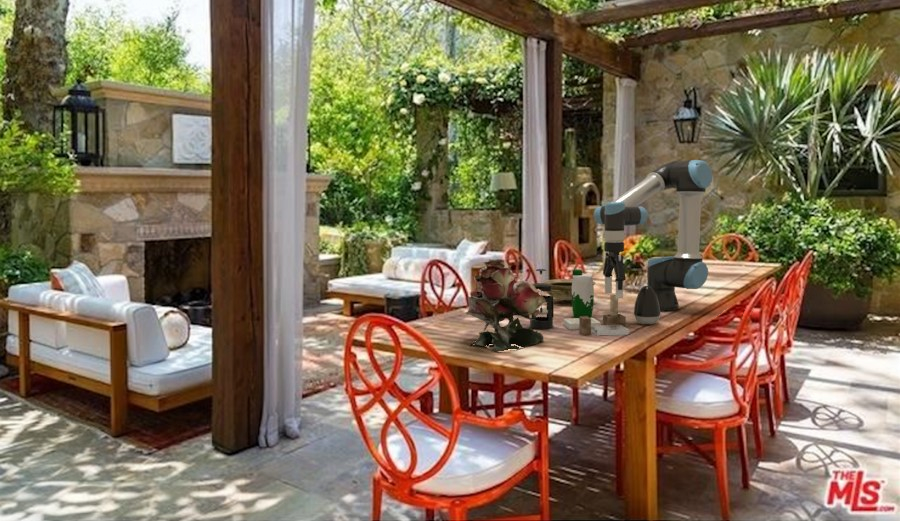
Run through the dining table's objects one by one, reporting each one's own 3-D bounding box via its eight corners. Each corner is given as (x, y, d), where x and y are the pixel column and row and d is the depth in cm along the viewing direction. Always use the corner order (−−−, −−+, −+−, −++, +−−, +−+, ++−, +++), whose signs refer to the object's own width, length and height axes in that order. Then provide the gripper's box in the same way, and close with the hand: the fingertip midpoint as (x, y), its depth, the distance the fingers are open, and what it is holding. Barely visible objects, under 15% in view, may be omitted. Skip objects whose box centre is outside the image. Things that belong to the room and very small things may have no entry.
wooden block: (587, 331, 260) (587, 316, 259) (590, 334, 255) (590, 318, 254) (579, 332, 260) (579, 316, 259) (583, 334, 255) (583, 319, 254)
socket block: (619, 323, 274) (619, 313, 274) (625, 327, 267) (625, 316, 267) (602, 324, 274) (602, 314, 273) (608, 327, 267) (608, 317, 266)
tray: (592, 323, 275) (593, 317, 275) (600, 328, 265) (600, 322, 265) (563, 325, 274) (563, 318, 274) (569, 330, 264) (569, 323, 264)
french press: (541, 330, 264) (541, 271, 261) (523, 327, 271) (522, 269, 268) (561, 326, 271) (560, 268, 269) (543, 323, 279) (542, 266, 276)
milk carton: (572, 315, 295) (571, 268, 293) (593, 315, 293) (593, 268, 291) (571, 318, 286) (571, 271, 284) (593, 319, 284) (593, 271, 282)
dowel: (616, 324, 272) (616, 294, 271) (619, 326, 269) (619, 296, 268) (609, 325, 272) (609, 295, 271) (611, 326, 269) (611, 296, 268)
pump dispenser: (660, 321, 277) (661, 284, 275) (659, 326, 267) (660, 287, 265) (634, 320, 280) (634, 283, 278) (632, 325, 270) (632, 287, 269)
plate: (620, 331, 263) (620, 324, 262) (628, 335, 254) (628, 329, 253) (590, 332, 262) (590, 325, 261) (596, 337, 253) (596, 330, 253)
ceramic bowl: (573, 309, 308) (573, 287, 307) (530, 304, 324) (530, 283, 323) (608, 300, 329) (608, 280, 328) (566, 296, 346) (566, 276, 345)
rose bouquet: (553, 339, 249) (552, 256, 246) (504, 355, 227) (503, 264, 224) (497, 330, 266) (496, 253, 263) (446, 344, 244) (445, 260, 241)
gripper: (634, 243, 255) (633, 300, 257) (613, 239, 280) (612, 291, 282) (615, 243, 254) (614, 300, 256) (595, 239, 279) (594, 291, 281)
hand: (613, 295), depth 269 cm, fingers open, 13 cm apart
